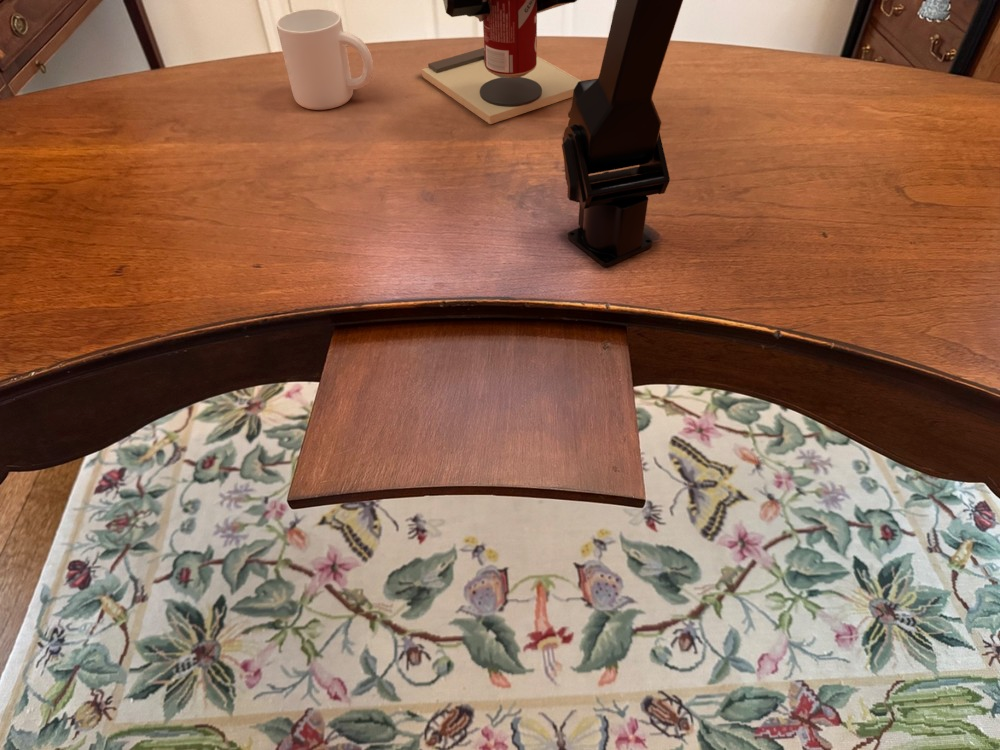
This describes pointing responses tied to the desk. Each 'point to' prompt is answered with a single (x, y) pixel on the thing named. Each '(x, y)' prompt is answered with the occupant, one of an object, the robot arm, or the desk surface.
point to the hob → (498, 86)
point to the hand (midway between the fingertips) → (506, 13)
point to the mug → (320, 58)
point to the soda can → (511, 37)
